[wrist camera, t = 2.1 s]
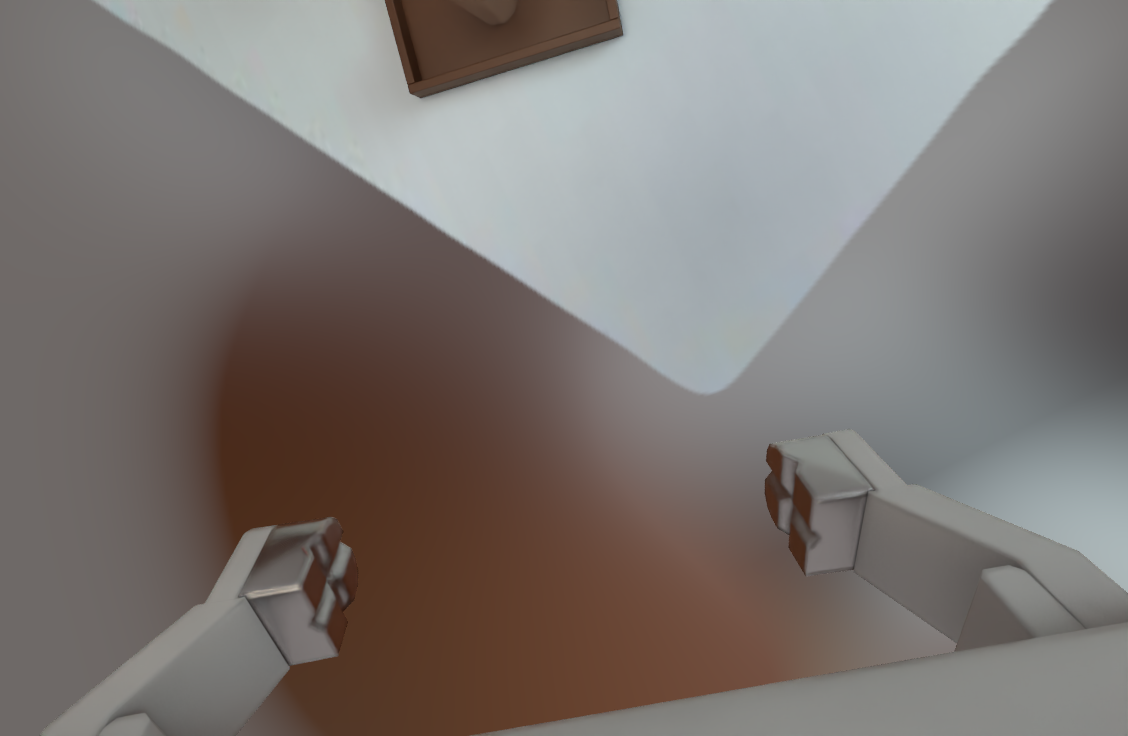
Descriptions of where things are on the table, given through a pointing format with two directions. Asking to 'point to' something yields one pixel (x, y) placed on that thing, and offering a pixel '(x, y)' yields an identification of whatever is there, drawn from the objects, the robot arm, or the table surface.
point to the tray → (491, 38)
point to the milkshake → (489, 9)
